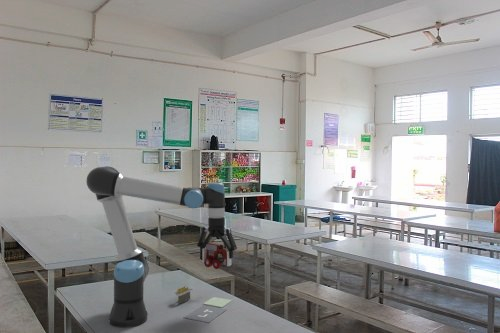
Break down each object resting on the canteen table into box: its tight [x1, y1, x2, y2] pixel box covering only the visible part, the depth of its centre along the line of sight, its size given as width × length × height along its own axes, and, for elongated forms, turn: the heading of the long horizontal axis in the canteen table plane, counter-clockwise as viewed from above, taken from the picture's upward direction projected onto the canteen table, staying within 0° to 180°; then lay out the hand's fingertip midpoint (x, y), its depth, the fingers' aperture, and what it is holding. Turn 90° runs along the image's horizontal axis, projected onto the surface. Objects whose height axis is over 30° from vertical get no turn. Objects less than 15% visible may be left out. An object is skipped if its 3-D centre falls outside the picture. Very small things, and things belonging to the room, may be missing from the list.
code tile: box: [183, 304, 227, 324], centre depth 176 cm, size 16×12×1 cm
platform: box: [174, 286, 194, 304], centre depth 191 cm, size 12×18×7 cm, turn 149°
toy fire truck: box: [203, 242, 228, 270], centre depth 185 cm, size 7×12×10 cm, turn 54°
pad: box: [202, 296, 233, 309], centre depth 190 cm, size 10×10×1 cm
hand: (216, 263), depth 185 cm, fingers closed on toy fire truck, 12 cm apart
